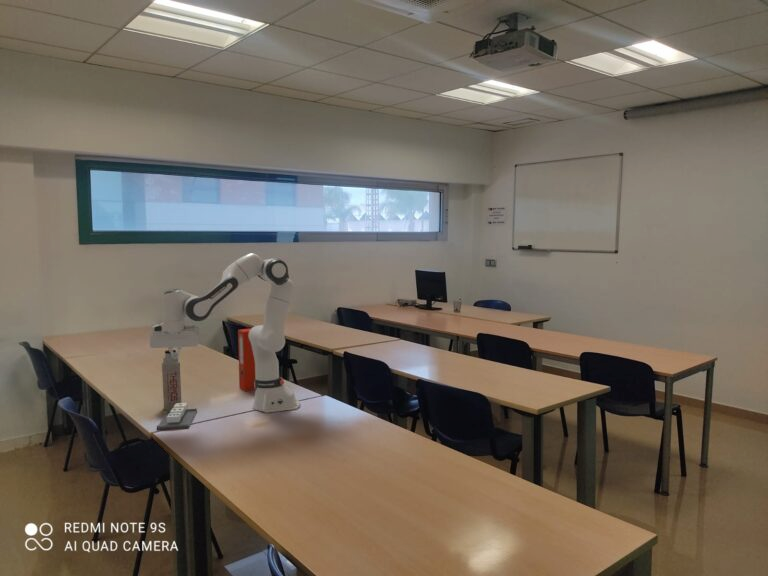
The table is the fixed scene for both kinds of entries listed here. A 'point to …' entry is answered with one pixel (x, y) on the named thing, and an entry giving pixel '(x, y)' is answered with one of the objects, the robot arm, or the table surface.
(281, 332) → the robot arm
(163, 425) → the keypad board
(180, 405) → the key one
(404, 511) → the table surface
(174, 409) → the key two
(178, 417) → the key three
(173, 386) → the thermos bottle
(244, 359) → the file binder
